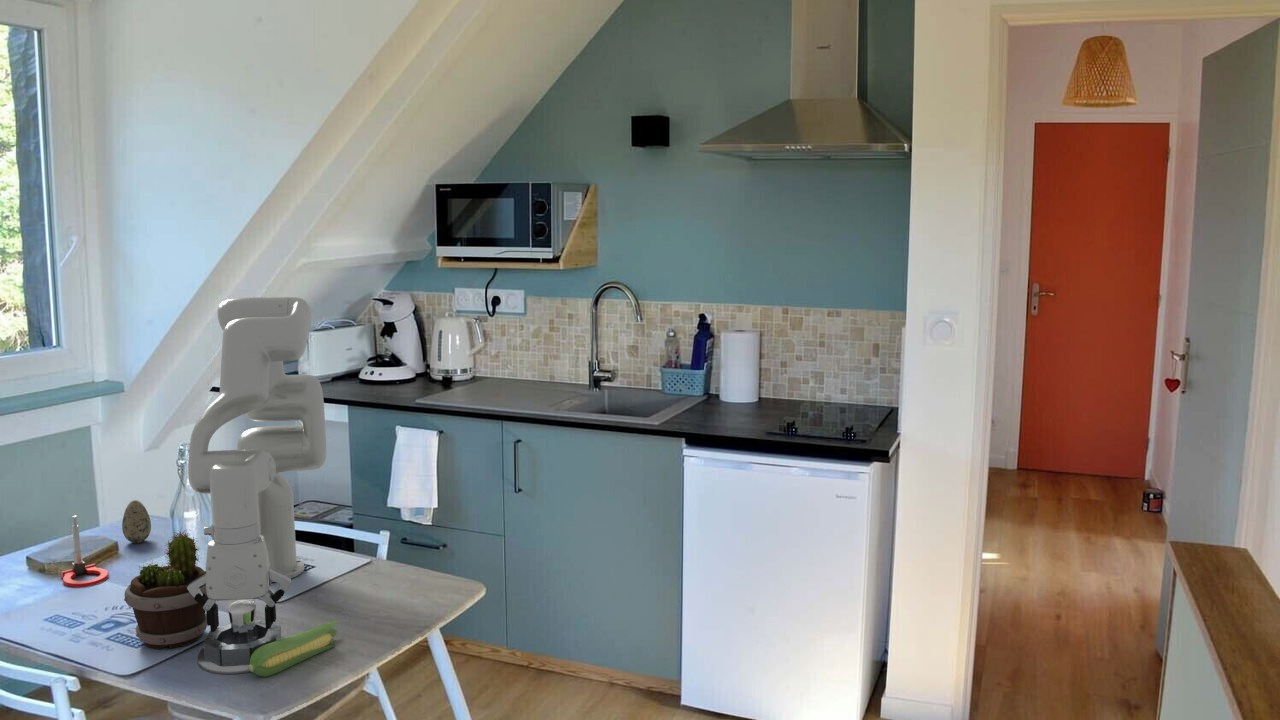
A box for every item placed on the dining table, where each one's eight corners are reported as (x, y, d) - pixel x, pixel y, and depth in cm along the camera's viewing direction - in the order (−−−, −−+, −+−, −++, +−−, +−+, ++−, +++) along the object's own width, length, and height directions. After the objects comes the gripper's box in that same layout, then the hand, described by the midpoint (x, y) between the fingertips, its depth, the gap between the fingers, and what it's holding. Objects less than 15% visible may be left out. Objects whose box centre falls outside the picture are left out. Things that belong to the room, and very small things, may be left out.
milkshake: (267, 647, 186) (264, 594, 184) (241, 658, 182) (238, 603, 180) (251, 641, 188) (248, 588, 187) (225, 652, 184) (221, 598, 182)
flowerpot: (166, 663, 182) (158, 552, 178) (110, 644, 189) (101, 537, 186) (235, 632, 194) (229, 528, 191) (180, 615, 202) (172, 515, 198)
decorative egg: (157, 538, 244) (154, 497, 242) (142, 547, 238) (138, 505, 237) (133, 537, 245) (130, 496, 243) (117, 546, 239) (114, 503, 237)
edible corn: (238, 653, 176) (254, 652, 174) (333, 616, 193) (349, 615, 190) (244, 683, 176) (261, 682, 174) (339, 644, 193) (355, 643, 190)
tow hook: (114, 581, 219) (99, 568, 226) (110, 523, 217) (94, 510, 223) (71, 592, 214) (56, 578, 220) (66, 532, 211) (51, 519, 217)
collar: (209, 639, 191) (208, 619, 190) (295, 634, 193) (294, 614, 193) (187, 677, 177) (186, 655, 176) (281, 671, 179) (279, 650, 178)
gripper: (177, 542, 176) (184, 639, 179) (285, 537, 179) (290, 633, 182) (189, 527, 184) (195, 621, 186) (292, 523, 186) (297, 615, 189)
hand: (242, 627), depth 184 cm, fingers open, 8 cm apart
